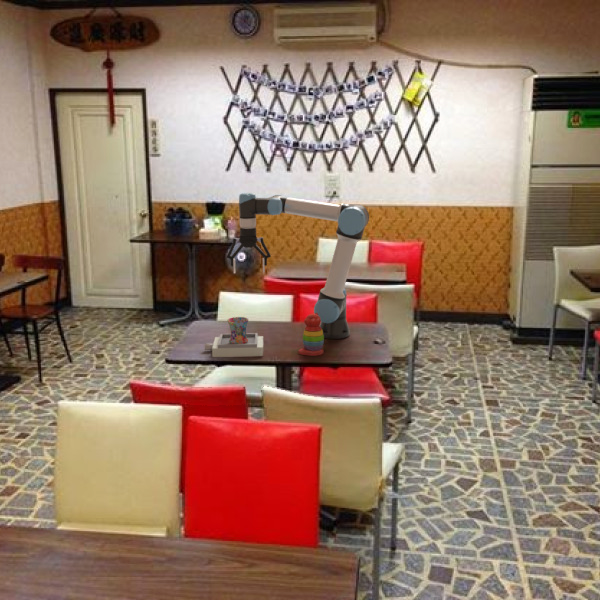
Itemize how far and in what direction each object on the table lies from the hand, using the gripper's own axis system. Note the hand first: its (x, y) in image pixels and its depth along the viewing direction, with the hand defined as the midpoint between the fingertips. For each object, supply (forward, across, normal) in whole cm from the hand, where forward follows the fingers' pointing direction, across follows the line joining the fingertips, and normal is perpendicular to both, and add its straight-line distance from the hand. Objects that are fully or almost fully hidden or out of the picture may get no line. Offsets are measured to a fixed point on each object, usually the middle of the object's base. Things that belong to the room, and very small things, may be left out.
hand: (249, 272), depth 312 cm
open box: (+32, +7, +20) cm, 38 cm away
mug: (+28, +5, +20) cm, 34 cm away
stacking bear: (+32, -28, +25) cm, 49 cm away
